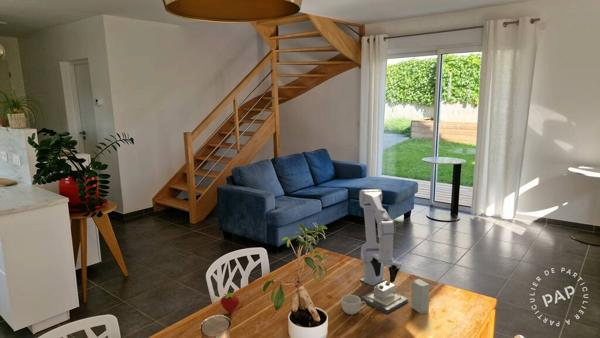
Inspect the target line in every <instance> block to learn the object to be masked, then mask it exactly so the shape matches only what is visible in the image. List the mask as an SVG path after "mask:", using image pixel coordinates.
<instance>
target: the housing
mask: <svg viewBox="0 0 600 338" xmlns="http://www.w3.org/2000/svg"><path fill="white" fill-rule="evenodd" d="M373 291H374V298H375V299H378V300H380V301H382V302H384V301H386V300H388V299H390V298H392V297H394V296H395V293H396V285H395V284H394V283H390V281H387V280H384V281H382V282H380V283H378V284H376V285H374V286H373Z"/></svg>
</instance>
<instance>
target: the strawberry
mask: <svg viewBox="0 0 600 338" xmlns="http://www.w3.org/2000/svg"><path fill="white" fill-rule="evenodd" d="M223 295H224V296H222V298H221V299H220V304H221V305H220V306H222V308H223V309H224V311H226V312H227V313H228V314H230V313H231V314H233V312H234V311H235V310H236V309H237V307H238V306H239V305H240V304H239V303H240V299H239V297H238V296H236V294H234V292H233V293H231V292H228V293H227V294H226V293H223Z"/></svg>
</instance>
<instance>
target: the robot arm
mask: <svg viewBox="0 0 600 338" xmlns="http://www.w3.org/2000/svg"><path fill="white" fill-rule="evenodd" d="M358 193H359V195H358V198H359V206H360V208H363V214H364V215H363V216H364V227H365V239H366V240H365V243H364V244H363V245H362V246H361V248H360V261H361V262H362V263H363V265H364V266H363V277H362V278H360V279H359V280H360V281H361V282H364V283H366V284H368V285H370V286H373V287H374V286H376V285H378V284H380V283H383V282H385V281H386V278H385V277H384V276H385V275H384V273H385V266H384V264H387V265H390V266H389V267H388V273H389V283H391V284H394V282H395V280H396V279H397V278H396V277H397V274H398V273H399V271H400V270H401V268H402V262H400V261H398V260H396V259H395V258H393V257H394V256H393V255H394V235H395V234H396V232H397V226H396V225H397V224H396V222H395V220H393V219H391V217H390V215H389V213H388V211H387V210H386V209H385V208H384V207H383V204H382V201H383V192H382V190H381V188H378V189H377V188H376V189H375V188H374V189H360V190H359V192H358ZM376 224H377V225H376ZM376 226H377V230H376ZM376 231H377V232H376ZM377 234H378V235H377ZM377 237H378V242H377ZM383 263H384V264H383Z"/></svg>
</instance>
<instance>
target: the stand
mask: <svg viewBox="0 0 600 338" xmlns="http://www.w3.org/2000/svg"><path fill="white" fill-rule="evenodd" d="M360 299H361V301H364V302H365V303H366V304H367V305H370V306H371V307H374V308H375V309H378V310H380V311H382V312H384V313H386V314H389V313H391V312H392V311H394V310H396V309H398V308H399V307H401V306H403V305H405V304H406V303H408V302H409V298H408V297H406V296H403V295H401V294H399V293H396V292H395V296H394V297H392V298H390V299H388V300H386V301H384V302H382V301H380V300H378V299H375V298H374V290H372V291H371V292H369V293H366V294H365V295H363V296H361V297H360Z"/></svg>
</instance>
